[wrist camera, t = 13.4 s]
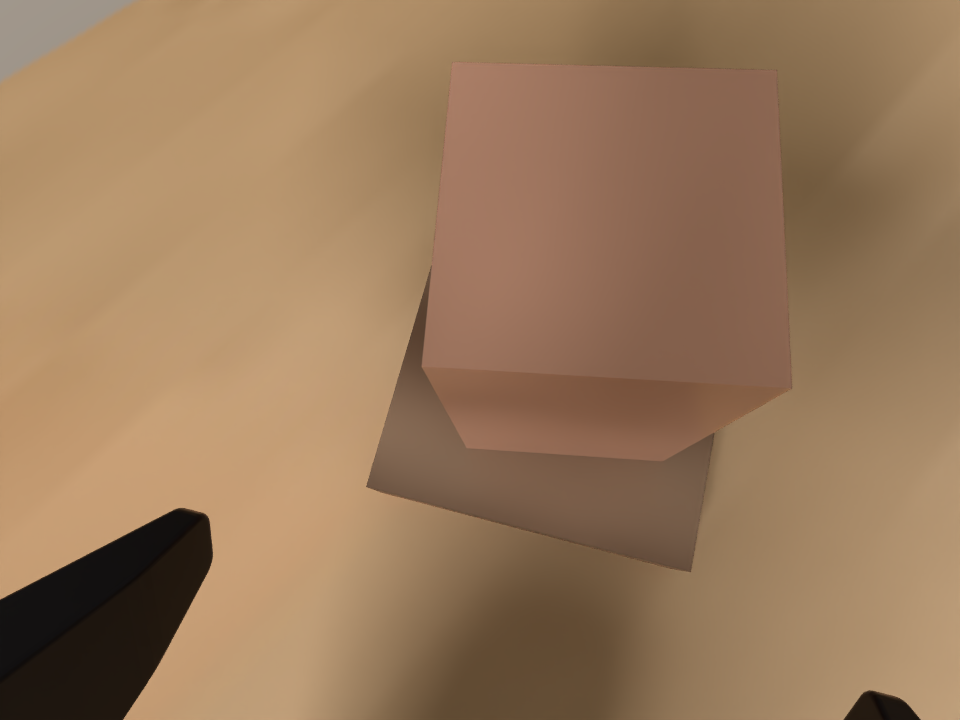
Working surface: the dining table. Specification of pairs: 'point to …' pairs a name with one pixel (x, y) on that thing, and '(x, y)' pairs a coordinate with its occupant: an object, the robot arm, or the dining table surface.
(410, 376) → the walnut block
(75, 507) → the dining table surface
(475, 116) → the reddish brown block
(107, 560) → the robot arm
